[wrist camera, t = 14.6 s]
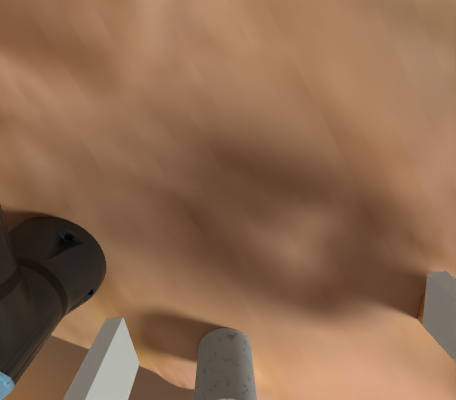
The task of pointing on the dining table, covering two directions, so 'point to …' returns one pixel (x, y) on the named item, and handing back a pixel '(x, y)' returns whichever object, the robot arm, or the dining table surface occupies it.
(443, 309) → the robot arm
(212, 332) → the grey concrete cylinder
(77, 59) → the dining table surface
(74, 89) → the dining table surface
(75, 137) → the dining table surface
